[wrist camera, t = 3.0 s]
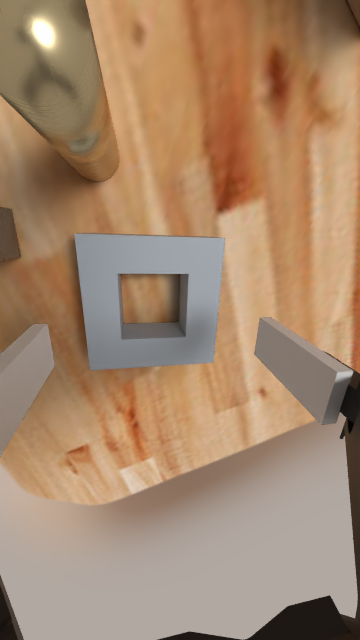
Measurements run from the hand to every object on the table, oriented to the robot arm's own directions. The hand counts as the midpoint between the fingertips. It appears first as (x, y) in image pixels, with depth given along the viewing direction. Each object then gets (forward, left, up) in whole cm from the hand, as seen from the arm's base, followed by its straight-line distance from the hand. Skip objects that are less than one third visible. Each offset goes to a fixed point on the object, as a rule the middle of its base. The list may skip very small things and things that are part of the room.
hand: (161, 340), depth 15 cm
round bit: (-13, +1, -11) cm, 17 cm away
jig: (0, 0, -11) cm, 11 cm away
